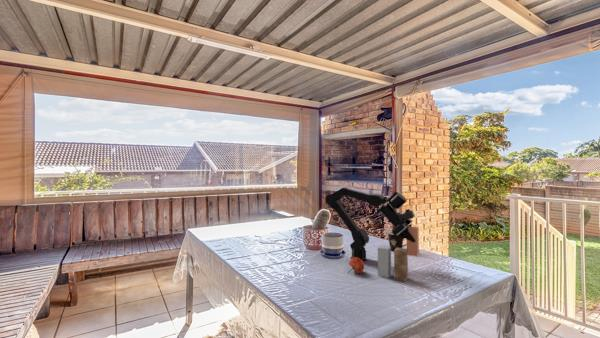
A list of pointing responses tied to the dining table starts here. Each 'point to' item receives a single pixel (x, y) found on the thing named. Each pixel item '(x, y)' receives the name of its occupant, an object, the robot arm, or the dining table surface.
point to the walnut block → (400, 264)
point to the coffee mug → (395, 241)
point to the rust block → (413, 246)
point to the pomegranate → (357, 264)
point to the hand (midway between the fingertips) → (415, 240)
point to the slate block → (384, 261)
